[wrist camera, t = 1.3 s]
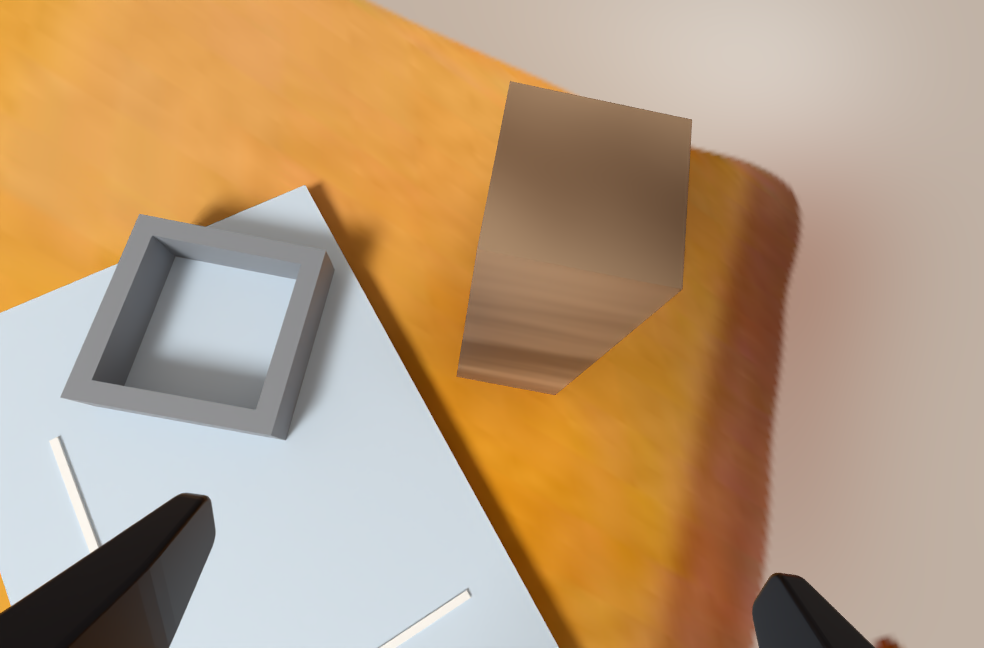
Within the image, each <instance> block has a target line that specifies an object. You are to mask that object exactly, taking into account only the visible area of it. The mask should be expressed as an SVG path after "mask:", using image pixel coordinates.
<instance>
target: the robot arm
mask: <svg viewBox="0 0 984 648" xmlns="http://www.w3.org/2000/svg"><path fill="white" fill-rule="evenodd" d="M215 536H216V528H215V521H214V515H213V508H212V502H211V499H210V498H209V497H208V496H206V495H201V494H194V493H181V494H178V495H176V496H175V497H173V498H172V499H170V500H169V501H167V502H166V503H164V504H163V505H161V506H160V507H158V508H157V509H155V510H154V511H152V512H151V513H149V514H148V515H146V516H145V517H143V518H142V519H140V520H139V521H137V522H136V523H134V524H133V525H131V526H130V527H128V528H127V529H126V530H124V531H123V532H121V533H120V534H118V535H117V536H115V537H114V538H112V539H111V540H109V541H108V542H106V543H105V544H103V545H102V546H100V547H99V548H97V549H96V550H94V551H93V552H91V553H90V554H88V555H87V556H85V557H84V558H82V559H81V560H79V561H78V562H76V563H75V564H73V565H72V566H70V567H69V568H67V569H66V570H64V571H63V572H61V573H60V574H58V575H57V576H55V577H54V578H52V579H51V580H49V581H48V582H46V583H45V584H43V585H42V586H40V587H39V588H37V589H36V590H34V591H33V592H32V593H30V594H29V595H27V596H26V597H24V598H23V599H21V600H20V601H18V602H17V603H15V604H14V605H12V606H11V607H9V608H8V609H6V610H5V611H3V612H2V613H0V648H169V647H170V645H171V643H172V640H173V638H174V636H175V634H176V632H177V629H178V627H179V625H180V622H181V620H182V618H183V615H184V613H185V611H186V608H187V606H188V603H189V601H190V599H191V596H192V594H193V592H194V589H195V587H196V585H197V582H198V580H199V578H200V575H201V573H202V571H203V568H204V566H205V564H206V561H207V559H208V556H209V554H210V552H211V549H212V547H213V544H214V541H215ZM752 615H753V622H754V626H755V631H756V636H757V640H758V645H759V648H875V647H874V646H873V645H872V644H871V643H870V642H869V641H868V640H866V639H865V638H864V637H863V636H862V635H861V634H860V633H859V632H858V631H857V630H856V629H855V628H854V627H853V626H852V625H851V624H850V623H849V622H848V621H847V620H846V619H845V618H844V617H843V616H842V615H841V614H840V613H839V612H837V610H836V609H835V608H834V607H832V605H831V604H829V602H827V601H826V600H825V599H824V598H823V597H822V596H821V595H820V594H819V593H818V592H817V591H816V590H815V589H814V588H813V587H812V586H811V585H810V584H809V583H808V582H807V581H806V580H805V579H803V578H802V577H800V576H797V575H791V574H783V573H775V574H772V575H771V576H770V577H769V579H768V580H767V582H766V584H765V585H764V587H763V588H762V590H761V591H760V593H759V595H758V596H757V598H756V599H755V601H754V604H753V609H752Z"/></svg>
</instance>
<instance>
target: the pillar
mask: <svg viewBox="0 0 984 648" xmlns="http://www.w3.org/2000/svg"><path fill="white" fill-rule="evenodd" d="M691 128H692V120H691V119H687V118H682V117H677V116H672V115H667V114H662V113H658V112H653V111H649V110H644V109H639V108H634V107H629V106H625V105H620V104H615V103H611V102H606V101H601V100H596V99H592V98H587V97H582V96H577V95H573V94H568V93H563V92H558V91H554V90H549V89H544V88H539V87H535V86H530V85H525V84H521V83H516V82H511V81H510V85H509V90H508V95H507V100H506V105H505V110H504V115H503V120H502V125H501V130H500V136H499V141H498V146H497V151H496V156H495V161H494V166H493V171H492V176H491V181H490V186H489V192H488V197H487V202H486V207H485V212H484V217H483V222H482V227H481V232H480V237H479V242H478V248H477V253H476V260H475V266H474V272H473V278H472V284H471V291H470V297H469V303H468V309H467V315H466V321H465V328H464V334H463V340H462V346H461V352H460V358H459V365H458V371H457V377H462V378H467V379H472V380H478V381H483V382H488V383H494V384H499V385H505V386H510V387H515V388H521V389H526V390H531V391H537V392H542V393H547V394H553V395H556V394H557V393H558V392H559V391H561V390H562V389H563V388H564V387H565V386H567V385H568V384H569V383H570V382H571V381H573V380H574V379H575V378H576V377H577V376H579V375H580V374H581V373H582V372H583V371H585V370H586V369H587V368H588V367H589V366H591V365H592V364H593V363H594V362H596V361H597V360H598V359H599V358H600V357H602V356H603V355H604V354H605V353H606V352H608V351H609V350H610V349H611V348H612V347H614V346H615V345H616V344H617V343H618V342H620V341H621V340H622V339H623V338H624V337H626V336H627V335H628V334H629V333H630V332H632V331H633V330H634V329H635V328H636V327H638V326H639V325H640V324H641V323H642V322H644V321H645V320H646V319H647V318H648V317H650V316H651V315H652V314H653V313H654V312H656V311H657V310H658V309H659V308H660V307H662V306H663V305H664V304H665V303H666V302H668V301H669V300H670V299H671V298H672V297H674V296H675V295H676V294H677V293H678V292H680V291H681V290H682V287H683V269H684V252H685V234H686V217H687V199H688V182H689V164H690V147H691Z"/></svg>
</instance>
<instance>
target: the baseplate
mask: <svg viewBox="0 0 984 648" xmlns="http://www.w3.org/2000/svg"><path fill="white" fill-rule="evenodd" d="M181 493H194V494H201V495H206V496H208V497H209V498H210V499H211V502H212V508H213V515H214V521H215V528H216V536H215V541H214V544H213V547H212V549H211V552H210V554H209V556H208V559H207V561H206V564H205V566H204V568H203V571H202V573H201V575H200V578H199V580H198V582H197V585H196V587H195V589H194V592H193V594H192V596H191V599H190V601H189V603H188V606H187V608H186V611H185V613H184V615H183V618H182V620H181V622H180V625H179V627H178V629H177V632H176V634H175V636H174V638H173V640H172V643H171V645H170V647H169V648H559V647H558V645H557V643H556V642H555V640H554V638H553V636H552V634H551V632H550V631H549V629H548V627H547V625H546V623H545V621H544V620H543V618H542V616H541V614H540V612H539V611H538V609H537V607H536V605H535V603H534V601H533V600H532V598H531V596H530V594H529V592H528V590H527V589H526V587H525V585H524V583H523V581H522V580H521V578H520V576H519V574H518V572H517V570H516V569H515V567H514V565H513V563H512V561H511V559H510V558H509V556H508V554H507V552H506V550H505V549H504V547H503V545H502V543H501V541H500V539H499V538H498V536H497V534H496V532H495V530H494V528H493V527H492V525H491V523H490V521H489V519H488V518H487V516H486V514H485V512H484V510H483V508H482V507H481V505H480V503H479V501H478V499H477V497H476V496H475V494H474V492H473V490H472V488H471V487H470V485H469V483H468V481H467V479H466V477H465V476H464V474H463V472H462V470H461V468H460V466H459V465H458V463H457V461H456V459H455V457H454V456H453V454H452V452H451V450H450V448H449V446H448V445H447V443H446V441H445V439H444V437H443V435H442V434H441V432H440V430H439V428H438V426H437V425H436V423H435V421H434V419H433V417H432V415H431V414H430V412H429V410H428V408H427V406H426V404H425V403H424V401H423V399H422V397H421V395H420V394H419V392H418V390H417V388H416V386H415V384H414V383H413V381H412V379H411V377H410V375H409V373H408V372H407V370H406V368H405V366H404V364H403V363H402V361H401V359H400V357H399V355H398V353H397V352H396V350H395V348H394V346H393V344H392V342H391V341H390V339H389V337H388V335H387V333H386V332H385V330H384V328H383V326H382V324H381V322H380V321H379V319H378V317H377V315H376V313H375V311H374V310H373V308H372V306H371V304H370V302H369V300H368V299H367V297H366V295H365V293H364V291H363V290H362V288H361V286H360V284H359V282H358V280H357V279H356V277H355V275H354V273H353V271H352V269H351V268H350V266H349V264H348V262H347V260H346V259H345V257H344V255H343V253H342V251H341V249H340V248H339V246H338V244H337V242H336V240H335V238H334V237H333V235H332V233H331V231H330V229H329V228H328V226H327V224H326V222H325V220H324V218H323V217H322V215H321V213H320V211H319V209H318V207H317V206H316V204H315V202H314V200H313V198H312V197H311V195H310V193H309V191H308V189H307V187H306V186H305V185H304V186H302V187H299V188H297V189H294V190H292V191H290V192H287V193H285V194H282V195H280V196H278V197H275V198H273V199H271V200H268V201H266V202H263V203H261V204H259V205H256V206H254V207H252V208H249V209H247V210H244V211H242V212H240V213H237V214H235V215H232V216H230V217H228V218H225V219H223V220H221V221H218V222H216V223H213V224H211V225H209V226H206V227H204V226H198V225H193V224H188V223H183V222H178V221H173V220H168V219H162V218H157V217H152V216H147V215H142V214H139V216H138V219H137V221H136V223H135V226H134V228H133V230H132V232H131V235H130V237H129V239H128V242H127V244H126V246H125V249H124V251H123V253H122V256H121V258H120V260H119V263H118V264H116V265H113V266H111V267H109V268H106V269H104V270H102V271H99V272H97V273H94V274H92V275H90V276H87V277H85V278H83V279H80V280H78V281H75V282H73V283H71V284H68V285H66V286H63V287H61V288H59V289H56V290H54V291H52V292H49V293H47V294H44V295H42V296H40V297H37V298H35V299H33V300H30V301H28V302H25V303H23V304H21V305H18V306H16V307H13V308H11V309H9V310H6V311H4V312H2V313H0V573H1V576H2V579H3V582H4V585H5V588H6V591H7V595H8V598H9V601H10V604H11V606H12V605H14V604H15V603H17V602H18V601H20V600H21V599H23V598H24V597H26V596H27V595H29V594H30V593H32V592H33V591H34V590H36V589H37V588H39V587H40V586H42V585H43V584H45V583H46V582H48V581H49V580H51V579H52V578H54V577H55V576H57V575H58V574H60V573H61V572H63V571H64V570H66V569H67V568H69V567H70V566H72V565H73V564H75V563H76V562H78V561H79V560H81V559H82V558H84V557H85V556H87V555H88V554H90V553H91V552H93V551H94V550H96V549H97V548H99V547H100V546H102V545H103V544H105V543H106V542H108V541H109V540H111V539H112V538H114V537H115V536H117V535H118V534H120V533H121V532H123V531H124V530H126V529H127V528H128V527H130V526H131V525H133V524H134V523H136V522H137V521H139V520H140V519H142V518H143V517H145V516H146V515H148V514H149V513H151V512H152V511H154V510H155V509H157V508H158V507H160V506H161V505H163V504H164V503H166V502H167V501H169V500H170V499H172V498H173V497H175V496H176V495H178V494H181Z"/></svg>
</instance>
